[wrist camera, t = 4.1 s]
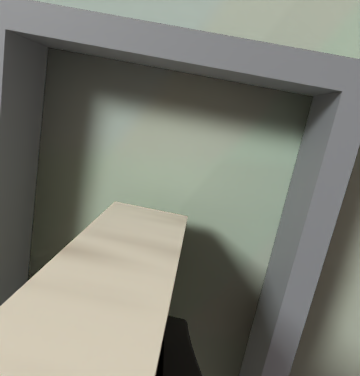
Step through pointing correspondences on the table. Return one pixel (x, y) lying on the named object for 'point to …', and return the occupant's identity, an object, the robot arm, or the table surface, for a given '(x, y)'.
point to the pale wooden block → (97, 300)
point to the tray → (205, 66)
